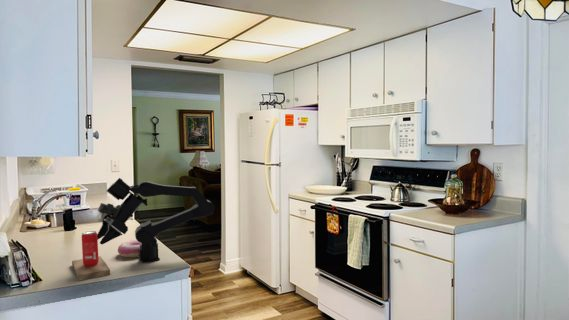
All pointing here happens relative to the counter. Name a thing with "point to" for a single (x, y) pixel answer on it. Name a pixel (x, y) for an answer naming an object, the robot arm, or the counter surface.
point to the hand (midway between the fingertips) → (98, 241)
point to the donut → (129, 249)
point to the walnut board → (90, 269)
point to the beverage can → (90, 248)
